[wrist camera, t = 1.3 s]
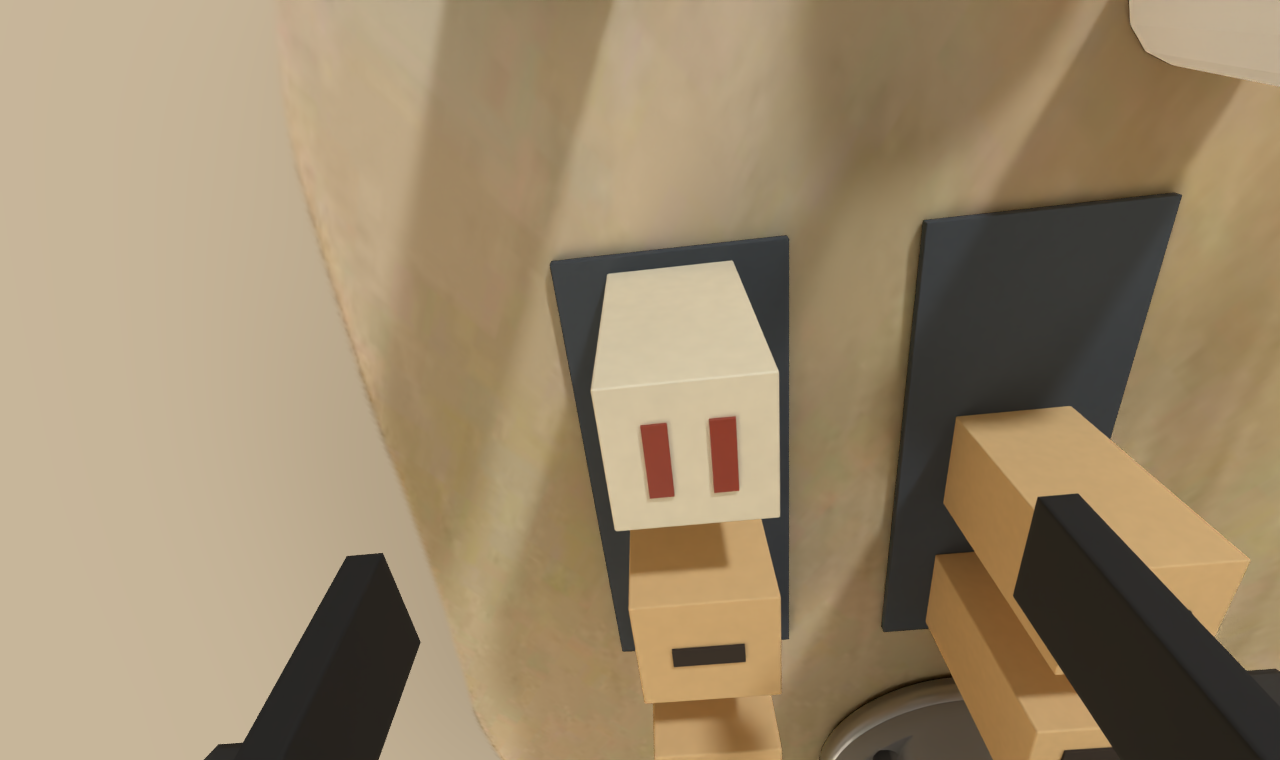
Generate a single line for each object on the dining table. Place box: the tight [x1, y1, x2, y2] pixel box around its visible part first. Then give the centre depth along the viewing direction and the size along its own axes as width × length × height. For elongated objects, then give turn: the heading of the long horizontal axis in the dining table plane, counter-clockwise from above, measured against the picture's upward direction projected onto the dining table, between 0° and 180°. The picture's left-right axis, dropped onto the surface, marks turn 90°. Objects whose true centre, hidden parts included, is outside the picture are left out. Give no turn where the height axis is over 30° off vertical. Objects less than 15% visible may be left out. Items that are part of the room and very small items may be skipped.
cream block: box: [591, 260, 780, 531], centre depth 21 cm, size 5×5×9 cm
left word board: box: [550, 235, 789, 760], centre depth 25 cm, size 22×9×10 cm, turn 6°
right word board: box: [881, 193, 1250, 760], centre depth 24 cm, size 22×9×10 cm, turn 6°
